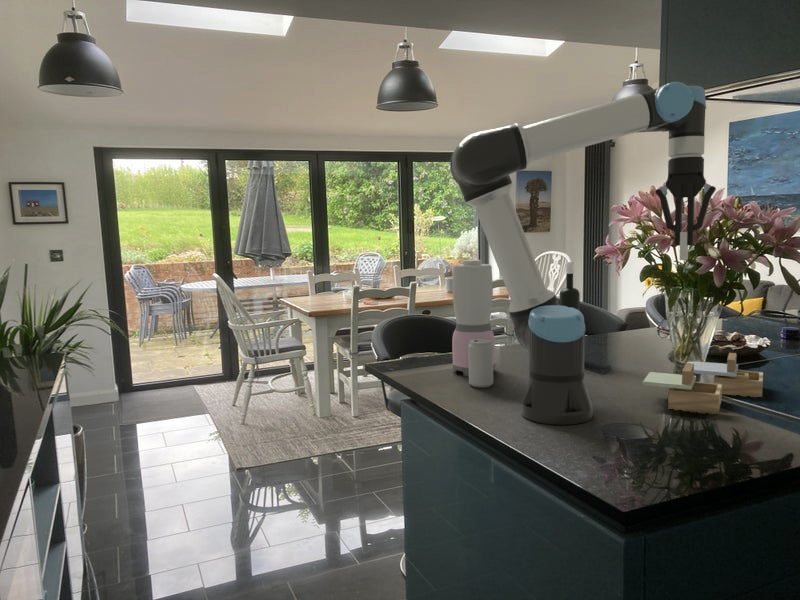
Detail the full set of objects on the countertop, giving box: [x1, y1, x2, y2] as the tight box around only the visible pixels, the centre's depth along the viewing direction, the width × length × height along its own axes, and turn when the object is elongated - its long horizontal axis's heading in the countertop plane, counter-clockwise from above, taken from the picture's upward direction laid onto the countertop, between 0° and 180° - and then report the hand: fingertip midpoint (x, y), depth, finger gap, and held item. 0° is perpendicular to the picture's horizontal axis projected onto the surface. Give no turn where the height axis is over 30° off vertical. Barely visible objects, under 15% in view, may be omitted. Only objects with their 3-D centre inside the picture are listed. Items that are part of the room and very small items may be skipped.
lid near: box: [642, 362, 697, 389], centre depth 144 cm, size 10×10×4 cm
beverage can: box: [468, 339, 494, 389], centre depth 165 cm, size 6×6×12 cm
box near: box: [667, 381, 723, 415], centre depth 141 cm, size 10×10×4 cm
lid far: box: [691, 352, 739, 377], centre depth 153 cm, size 10×10×4 cm
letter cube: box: [729, 372, 749, 380], centre depth 151 cm, size 4×4×4 cm
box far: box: [713, 369, 764, 398], centre depth 151 cm, size 10×10×4 cm
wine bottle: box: [559, 261, 581, 312], centre depth 190 cm, size 6×6×30 cm
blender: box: [451, 259, 496, 377], centre depth 181 cm, size 16×12×32 cm
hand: (683, 259), depth 148 cm, fingers closed
